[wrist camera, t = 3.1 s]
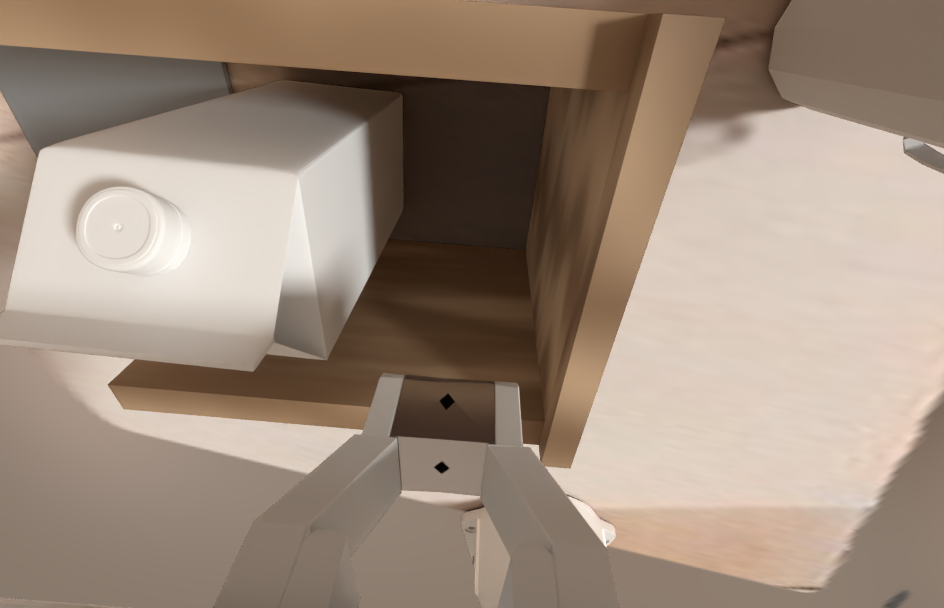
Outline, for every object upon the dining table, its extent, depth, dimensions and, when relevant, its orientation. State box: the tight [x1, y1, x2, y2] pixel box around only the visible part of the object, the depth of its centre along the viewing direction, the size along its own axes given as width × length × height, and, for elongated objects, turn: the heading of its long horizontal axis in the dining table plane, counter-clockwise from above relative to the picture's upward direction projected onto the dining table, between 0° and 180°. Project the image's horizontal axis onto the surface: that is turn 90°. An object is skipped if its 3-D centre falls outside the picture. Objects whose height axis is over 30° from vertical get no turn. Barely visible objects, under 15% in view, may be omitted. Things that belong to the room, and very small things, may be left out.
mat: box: [0, 45, 233, 158], centre depth 25 cm, size 10×14×1 cm
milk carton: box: [0, 80, 403, 372], centre depth 18 cm, size 7×7×19 cm
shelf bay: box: [0, 0, 725, 468], centre depth 19 cm, size 15×19×16 cm
